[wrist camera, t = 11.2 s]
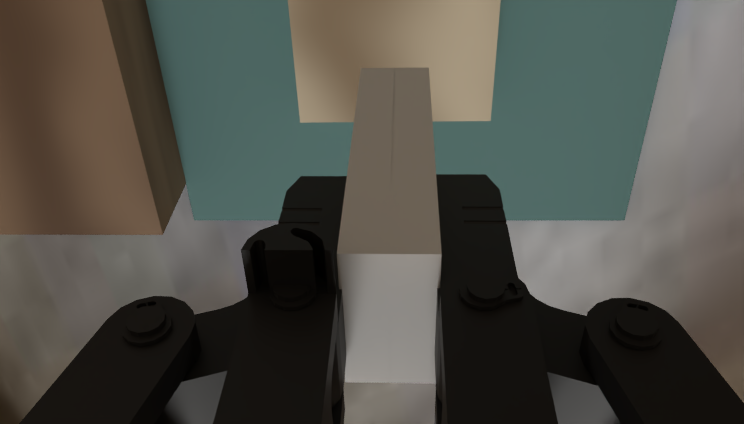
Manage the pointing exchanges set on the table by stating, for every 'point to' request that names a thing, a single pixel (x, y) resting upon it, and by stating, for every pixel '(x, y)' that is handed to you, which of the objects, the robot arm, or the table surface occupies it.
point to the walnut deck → (84, 121)
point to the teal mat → (451, 138)
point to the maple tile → (394, 52)
